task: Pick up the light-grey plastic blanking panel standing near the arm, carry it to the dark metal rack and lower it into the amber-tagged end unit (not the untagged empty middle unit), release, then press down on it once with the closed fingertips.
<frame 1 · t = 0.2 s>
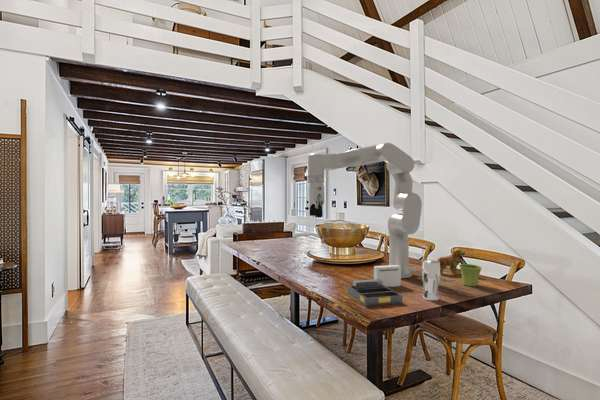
hand: (315, 216, 155), 31 cm above the table, fingers open, 9 cm apart
beer glass: (430, 298, 132), on the table
rack: (373, 297, 132), on the table
figurine: (449, 274, 172), on the table
plant pot: (470, 285, 151), on the table
panel: (387, 285, 149), on the table
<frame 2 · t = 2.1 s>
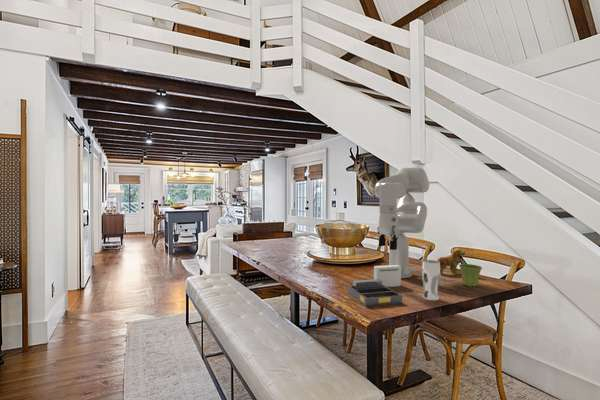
hand: (387, 247, 148), 17 cm above the table, fingers open, 9 cm apart
nothing on the table moved.
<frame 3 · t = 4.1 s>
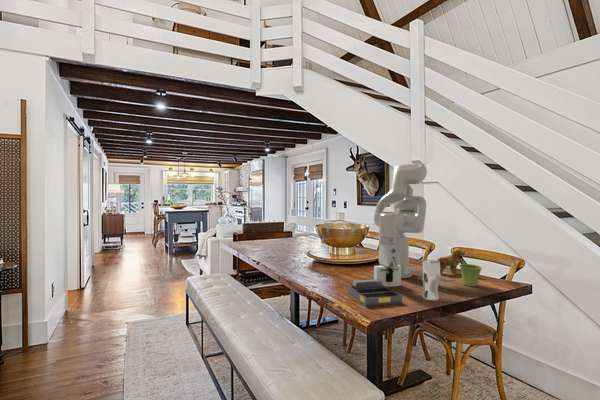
hand: (387, 280, 149), 2 cm above the table, fingers closed on panel, 3 cm apart
panel: (387, 285, 149), on the table, touching gripper
everything else where it was.
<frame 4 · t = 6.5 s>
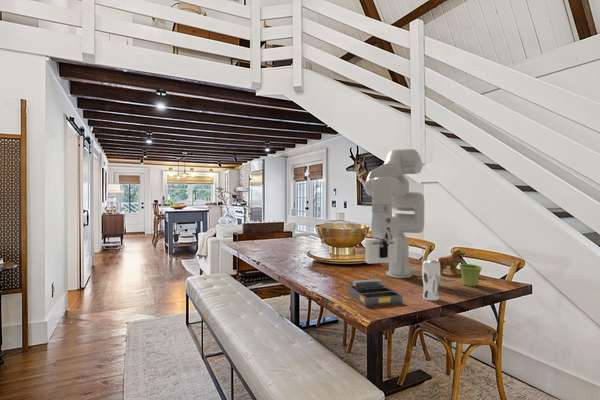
hand: (381, 256, 127), 18 cm above the table, fingers closed on panel, 3 cm apart
panel: (381, 262, 127), point 15 cm above the table, touching gripper
everything else where it was.
when the fingers open (5 cm above the table, at t = 9.2 s): panel drops 2 cm, resting on rack.
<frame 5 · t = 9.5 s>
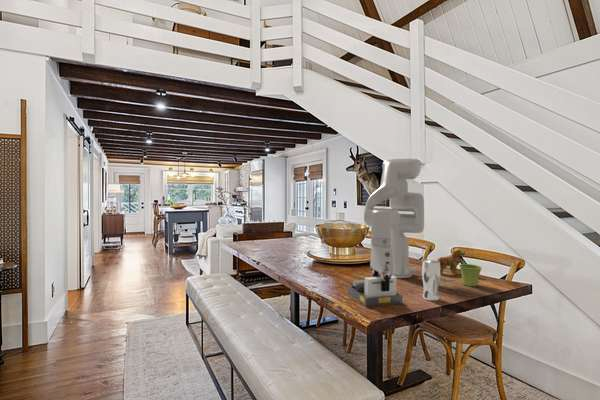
hand: (380, 287, 127), 6 cm above the table, fingers open, 6 cm apart
panel: (380, 300, 127), point 1 cm above the table, touching rack
everything else where it was.
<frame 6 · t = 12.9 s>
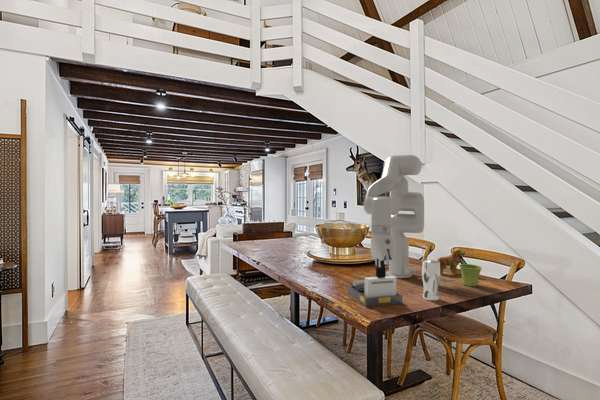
hand: (380, 276, 127), 10 cm above the table, fingers closed
nothing on the table moved.
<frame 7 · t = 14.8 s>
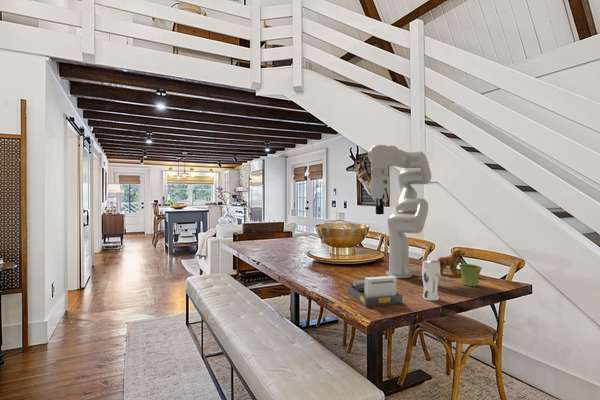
hand: (379, 214, 147), 33 cm above the table, fingers closed
nothing on the table moved.
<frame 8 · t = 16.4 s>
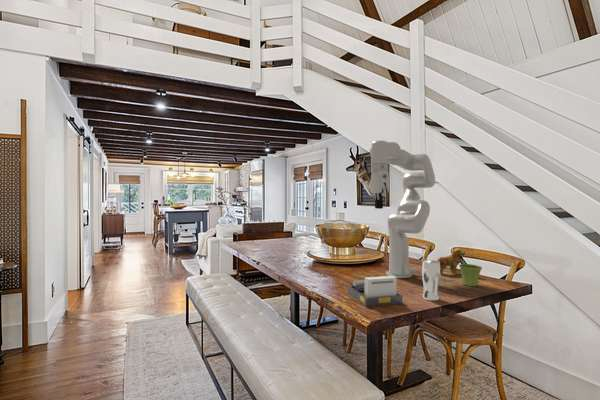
hand: (378, 208, 150), 35 cm above the table, fingers closed
nothing on the table moved.
at the end: panel 0.1 cm from the target spot on the rack, point 0.6 cm above the rack's base; panel tilted 0°; the gripper is holding nothing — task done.
